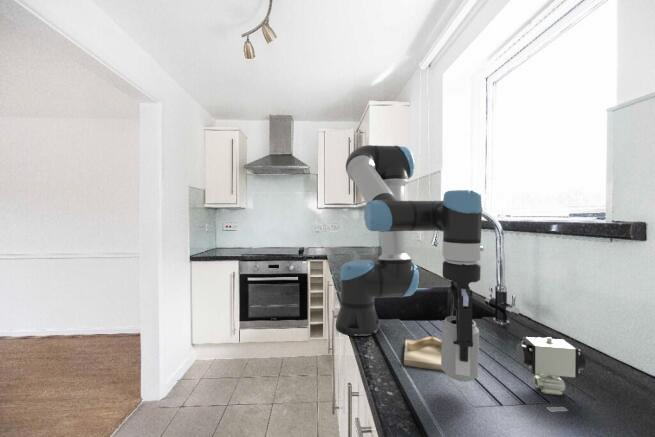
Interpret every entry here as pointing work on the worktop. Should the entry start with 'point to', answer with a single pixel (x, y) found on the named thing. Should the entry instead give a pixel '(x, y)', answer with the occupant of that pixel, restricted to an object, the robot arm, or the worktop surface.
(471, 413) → the worktop surface
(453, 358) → the can
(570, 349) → the pneumatic valve
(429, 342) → the v block
